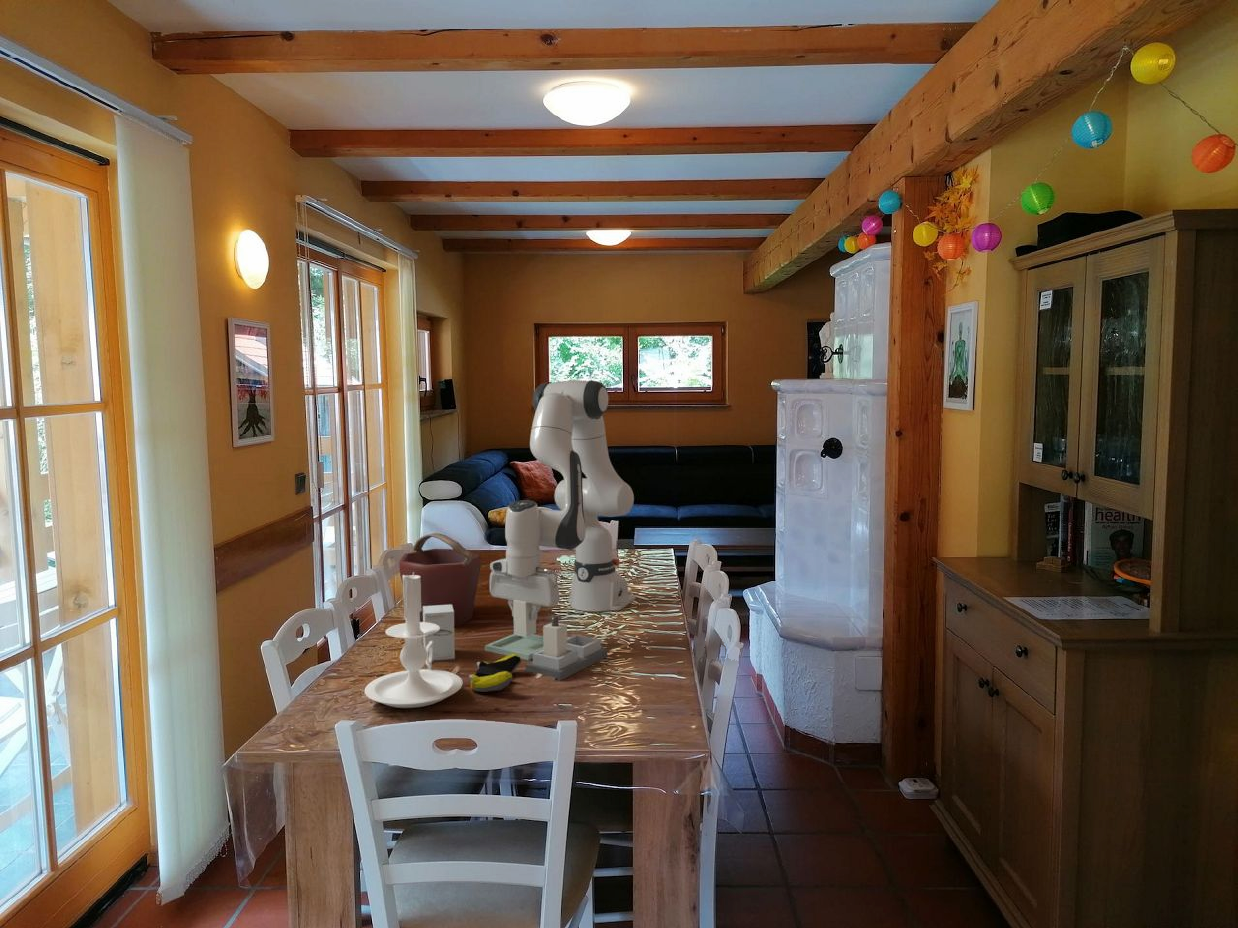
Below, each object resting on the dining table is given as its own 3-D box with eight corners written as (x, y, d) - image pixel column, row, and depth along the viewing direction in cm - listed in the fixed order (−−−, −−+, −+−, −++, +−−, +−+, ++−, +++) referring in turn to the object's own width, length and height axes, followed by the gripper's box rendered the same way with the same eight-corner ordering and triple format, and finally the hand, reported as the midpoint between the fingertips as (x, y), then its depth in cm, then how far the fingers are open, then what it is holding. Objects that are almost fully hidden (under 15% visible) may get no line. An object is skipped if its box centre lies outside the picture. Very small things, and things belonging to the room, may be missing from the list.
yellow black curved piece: (522, 674, 197) (480, 673, 198) (522, 651, 196) (480, 651, 197) (510, 698, 182) (465, 697, 183) (510, 674, 182) (465, 673, 182)
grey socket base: (574, 649, 215) (574, 599, 213) (607, 656, 209) (607, 605, 208) (525, 672, 198) (525, 619, 196) (559, 680, 192) (559, 625, 191)
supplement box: (424, 663, 204) (423, 613, 203) (423, 654, 211) (422, 605, 210) (455, 661, 206) (454, 611, 205) (453, 651, 213) (452, 603, 212)
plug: (523, 630, 217) (522, 588, 216) (536, 632, 215) (535, 591, 214) (513, 634, 214) (512, 592, 213) (526, 637, 212) (525, 594, 210)
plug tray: (519, 638, 224) (519, 631, 224) (562, 646, 217) (562, 640, 216) (484, 652, 212) (484, 645, 212) (528, 662, 205) (528, 655, 205)
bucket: (491, 625, 236) (490, 537, 233) (415, 637, 224) (412, 546, 222) (460, 605, 257) (458, 524, 254) (388, 615, 245) (386, 531, 243)
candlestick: (476, 676, 195) (474, 558, 192) (449, 719, 171) (446, 585, 168) (389, 675, 196) (386, 557, 193) (350, 717, 172) (345, 584, 169)
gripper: (564, 567, 210) (565, 621, 211) (501, 558, 220) (502, 609, 222) (548, 572, 204) (549, 627, 206) (485, 562, 215) (486, 615, 217)
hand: (524, 618), depth 214 cm, fingers closed on plug, 4 cm apart
